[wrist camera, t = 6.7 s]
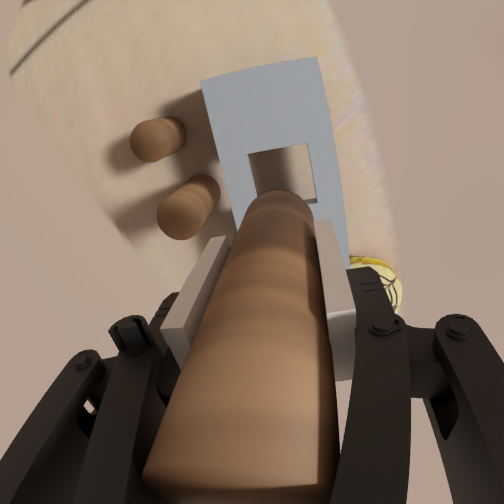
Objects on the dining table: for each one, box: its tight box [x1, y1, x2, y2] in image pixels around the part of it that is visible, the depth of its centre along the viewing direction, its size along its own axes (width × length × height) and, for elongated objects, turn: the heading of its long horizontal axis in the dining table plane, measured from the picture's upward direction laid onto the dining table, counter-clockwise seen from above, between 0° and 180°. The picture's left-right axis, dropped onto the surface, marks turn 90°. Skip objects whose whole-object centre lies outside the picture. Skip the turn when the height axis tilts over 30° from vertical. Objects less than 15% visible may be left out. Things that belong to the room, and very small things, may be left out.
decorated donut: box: [349, 257, 402, 314], centre depth 35 cm, size 10×11×4 cm
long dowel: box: [142, 190, 340, 504], centre depth 11 cm, size 4×4×15 cm
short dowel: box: [130, 117, 186, 162], centre depth 29 cm, size 4×4×5 cm
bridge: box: [200, 57, 350, 270], centre depth 29 cm, size 20×10×5 cm, turn 12°
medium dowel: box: [157, 175, 220, 240], centre depth 30 cm, size 4×4×8 cm
